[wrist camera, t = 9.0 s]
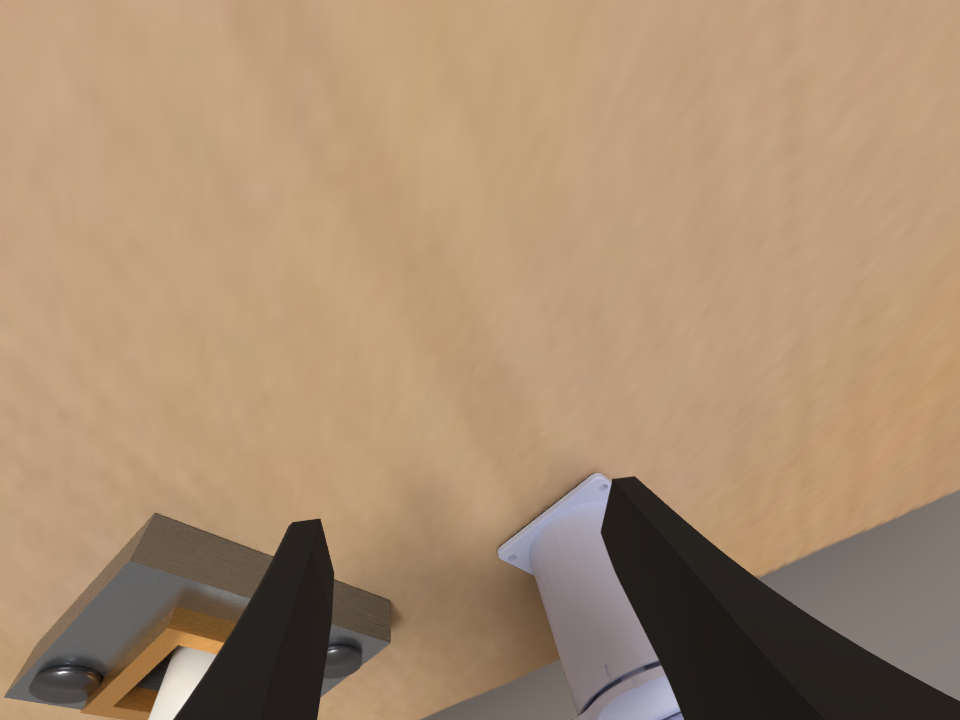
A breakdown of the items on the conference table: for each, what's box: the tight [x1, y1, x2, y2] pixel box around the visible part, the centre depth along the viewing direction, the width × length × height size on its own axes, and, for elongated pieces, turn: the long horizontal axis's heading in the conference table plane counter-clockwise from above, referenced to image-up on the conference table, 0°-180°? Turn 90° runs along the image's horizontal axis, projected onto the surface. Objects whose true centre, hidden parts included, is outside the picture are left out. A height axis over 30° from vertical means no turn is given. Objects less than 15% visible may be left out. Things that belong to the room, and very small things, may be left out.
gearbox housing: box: [4, 513, 391, 720], centre depth 24 cm, size 14×12×4 cm
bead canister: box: [148, 645, 217, 720], centre depth 23 cm, size 4×4×7 cm
